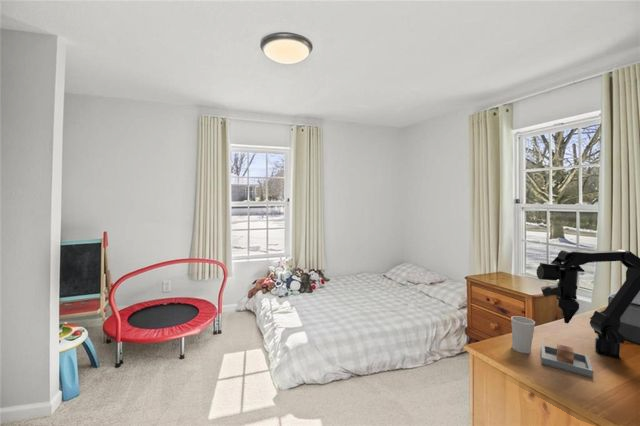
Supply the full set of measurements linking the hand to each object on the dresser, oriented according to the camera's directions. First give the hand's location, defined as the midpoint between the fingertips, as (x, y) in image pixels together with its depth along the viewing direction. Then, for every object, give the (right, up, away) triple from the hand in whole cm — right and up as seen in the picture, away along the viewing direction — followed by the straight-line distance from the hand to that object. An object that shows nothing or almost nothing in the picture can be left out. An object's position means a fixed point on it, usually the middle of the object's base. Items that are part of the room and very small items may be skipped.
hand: (565, 319), depth 123 cm
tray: (-9, -12, -11) cm, 19 cm away
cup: (-19, -12, -1) cm, 22 cm away
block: (-9, -12, -11) cm, 18 cm away
